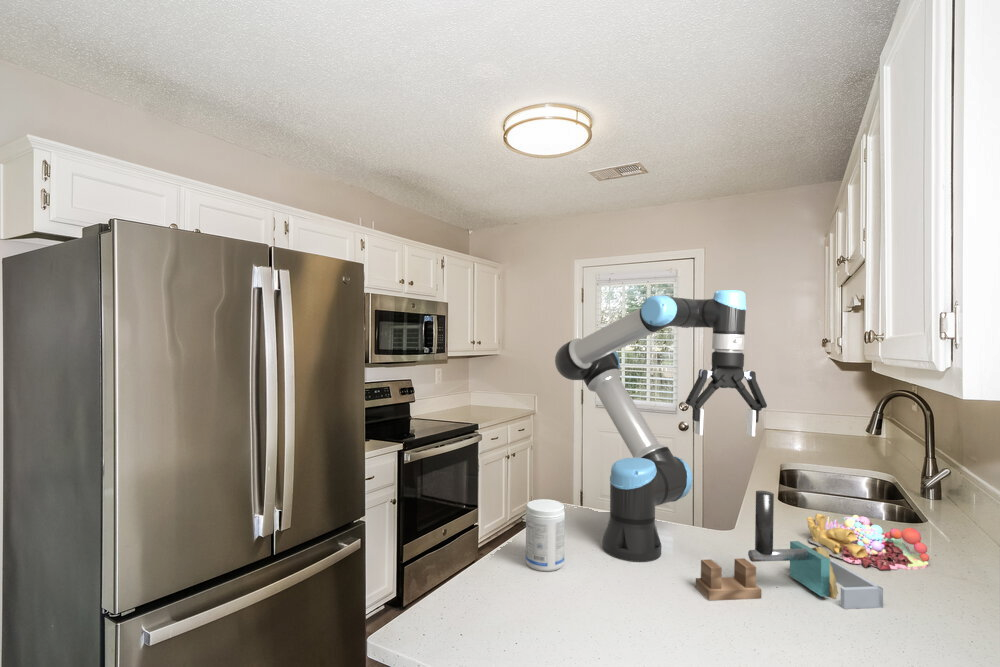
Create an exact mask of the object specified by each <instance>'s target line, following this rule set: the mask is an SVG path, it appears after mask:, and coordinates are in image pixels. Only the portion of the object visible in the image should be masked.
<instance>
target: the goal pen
mask: <svg viewBox="0 0 1000 667" xmlns="http://www.w3.org/2000/svg"><path fill="white" fill-rule="evenodd" d="M830 563H831V566H832V568H833V573H834V575H835V578H836V583H838V584H839V585H841V586H842V587H840V604H839V606H840V608H842V609H844V610H852V609H853V610H854V609H856V610H857V609H873V608H874V609H878V608H879V609H880V608H884V588H883V587H881V586H879V585H878V584H876V583H874V582H873V581H871V580H869V579H868V578H865V577H864V576H862V575H860V574H858V573H857V572H855V571H853V570H851V569H849V568H847V567H846V566H844V565H842V564H840V563H839V562H837V561H836V560H833V559H832V558H830Z"/></svg>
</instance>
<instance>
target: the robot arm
mask: <svg viewBox="0 0 1000 667" xmlns="http://www.w3.org/2000/svg"><path fill="white" fill-rule="evenodd" d="M746 296H747V294H746V293H745V292H744V291H742V290H736V289H732V290H730V289H725V290H724V289H723V290H722V289H721V290H716V291H715V292H714V294H713V297H712V298H709V299H706V298H705V299H704V298H703V299H692V298H683V297H674V296H667V295H665V294H664V295H651V296H649V297H647V298H646V299H645V300H644V302H643V303H642V304H641V307H639V308H638V309H636V310H634V311H632V312H630V313H628V314H627V315H625V316H623V317H621V318H619V319H617V320H615V321H612V322H611V323H609V324H607V325H605V326H603V327H602V328H599V329H598V330H596V331H594V332H592V333H590V334H589V335H587V336H585V337H583V338H579V337H576V338H574V339H572V340H570V341H567V342H566V343H565V344H563V345H562V346H560V347H559V349H558V350H557V351H556V354H555V356H554V358H555V359H554V363H555V368H556V370H557V372H558V373H559V374H560V375H561V376H562V378H563V377H564V378H565V379H567V380H571V381H583V382H584V383H585V386H586V387H587V389H588V390H589V391H590V392H594V393H595V394H596V395H597V397H598V399H599V400H600V402H601V404H602V405H603V407H604V409H605V411H606V412H607V414H608V416H609V419H610V420H611V421H612V423H613V424H614V426H615V428H616V430H617V432H618V434H619V435H620V436H621V438H622V440H623V442H624V444H625V446H626V447H627V449H628V450H629V452H630V454H631V455H632V457H631V458H630V457H626V458H622V459H621V458H620V459H619V460H617V461H615V462H613V464H612V466H611V469H610V475H609V482H610V484H609V487H610V488H609V489H610V490H609V491H610V492H609V495H610V496H609V500H610V501H609V502H610V503H609V520H608V523H607V525H606V528H605V532H604V535H603V538H602V548H603V551H605V552H606V554H608V555H610V556H612V557H614V558H618V559H620V560H623V561H629V562H643V563H644V562H649V561H650V562H651V561H655V560H657V559H659V558H660V557H661V556H662V543H661V539H660V536H659V532H658V529H657V526H656V506H657V507H658V506H661V505H664V504H668V503H670V502H671V503H673V502H677V501H678V500H680V499H683V498H684V497H686V496H687V495H688V494H689V493H690V491H691V489H692V484H693V473H692V471H691V468H690V466H689V464H688V463H687V462H686V461H685V460H684V459H682V458H680V457H678V456H676V455H673V453H672V452H671V450H670V448H669V447H668V446H667V445H664V444H661V443H660V442H659V441H658V439H657V437H656V436H655V434H654V433H653V431H652V429H651V428H650V426H649V425H648V423H647V422H646V420H645V418H644V416H643V414H642V413H641V411H640V410H639V408H638V407H637V405H636V403H635V402H634V400H633V399H632V397H631V395H630V394H629V392H628V389H627V388H626V387H625V386H624V384H623V382H622V380H621V376H622V372H621V364H620V363H621V359H620V356H619V354H618V352H617V351H619V350H620V349H623V348H626V347H627V346H629V345H631V344H633V343H635V342H638V341H639V340H642V339H644V338H646V337H648V336H650V335H652V334H654V333H657V332H659V331H662V330H664V329H665V328H668V327H675V328H676V327H677V328H684V329H685V328H686V329H688V328H689V329H690V328H710V329H711V328H712V340H711V341H712V342H711V349H712V350H714V351H712V352H711V369H710V370H707V369H705V368H704V369H702V368H701V369H699V371H698V376H697V379H696V380H695V382H694V385H693V387H692V388H691V390H690V392H689V394H688V396H687V397H686V399H685V403H684V404H685V405H688V406H690V407H691V408H692V416H691V417H692V421H695V426H694V427H695V431H694V433H695V434H697V435H698V436H703V433H704V415H705V414H704V409H703V406H704V405H705V403H706V402H707V401H708V400H709V399H710V398H711V397H712V396H713V394H714V393H715V392H716V391H717V390H719V389H720V388H721V389H727V388H728V389H736V391H737V392H738V393H739V394H740V396H741V397H742V399H743V400H744V401H745V402H746V404H747V405H748V406H749V408H747V409H746V429H745V431H746V432H745V433H746V434H745V435H748V436H751V437H756V423H757V424H758V423H759V414H760V411H762V410H763V409H766V408H767V406H768V405H767V404H768V403H767V402H766V399H765V397H764V395H763V393H762V391H761V388H760V386H759V384H758V381H757V376H756V372H755V371H753V370H746V371H744V366H745V354H744V352H743V351H744V350H745V339H746V336H745V335H746V334H745V333H746V331H745V329H746V328H745V327H746V315H747V314H746V312H747V300H746V299H747V297H746ZM709 378H711V379H712V380H711V381H710V382H709V383H708V385H707V387H706V388H705V389H704V390H703V388H704V386H705V384H706V383H707V380H708V379H709ZM743 379H745V380H746V383H747V385H748V388H749V390H750V391H751V392H749V391H748V389H747V388H746V385H745V384H744V383H743V382H742V380H743ZM702 390H703V391H702ZM751 394H752V395H751Z"/></svg>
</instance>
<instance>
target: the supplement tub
mask: <svg viewBox="0 0 1000 667" xmlns="http://www.w3.org/2000/svg"><path fill="white" fill-rule="evenodd" d="M525 511H526V512H525V561H526V562H525V563H526V565H528V566H529V567H530V568H531V569H533V570H536V571H540V572H553V571H557V570H559V569H561V568H563V566H564V564H565V534H566V533H565V528H566V527H565V519H566V518H565V517H566V516H565V514H566V512H565V505H564V504H563V503H562V502H561V501H558V500H554V499H545V498H542V499H540V498H539V499H534V500H531V501H529V502H527V503H526V509H525Z"/></svg>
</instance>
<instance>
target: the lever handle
mask: <svg viewBox="0 0 1000 667" xmlns="http://www.w3.org/2000/svg"><path fill="white" fill-rule="evenodd" d="M774 496H775V494H774V493H773V492H771V491H768V490H756V491H755V517H754V519H755V520H754V521H755V522H754V523H755V524H754V525H755V526H754V530H755V531H754V532H755V533H754V535H755V536H754V549H750V550H748V552H747V553H748V554H747V556H748V559H749V560H750V561H751V562H752V563H754V562H755V563H756V562H783V561H784V562H786V561H787V562H789V576H790V577H792V578H793V579H794V580H796V581H798V582H799V583H800V584H801V585H803V586H805V587H806V588H808V589H809V590H810V591H813V592H814V593H815V594H817V595H818V596H820V597H828V596H829V585H830V559H831V558H830V559H829V558H827V557H825V556H824V555H822V554H820V553H818V552H816V551H815V550H813V549H811V548H812V547H809V546H808V545H806V544H805V543H802V542H801V541H799V540H791V541H789V548H782V549H781V548H777V549H776V548H775V549H774V512H775V511H774V508H775V506H774V505H775V503H774V502H775V497H774ZM750 561H749V562H750Z"/></svg>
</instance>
